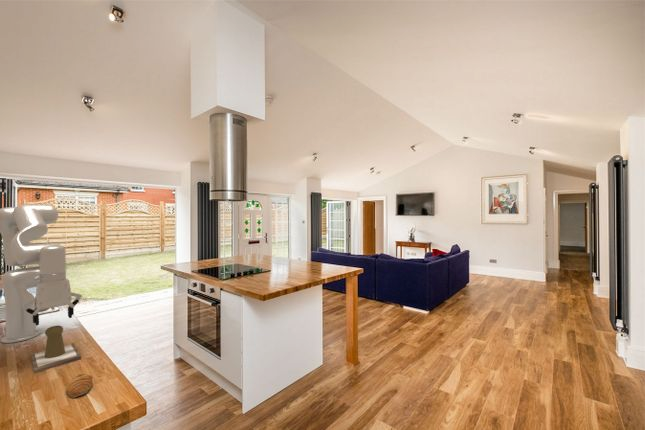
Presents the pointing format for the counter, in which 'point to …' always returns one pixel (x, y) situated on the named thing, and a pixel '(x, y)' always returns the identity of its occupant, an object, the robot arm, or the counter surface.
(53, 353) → the cork
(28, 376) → the counter surface
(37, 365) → the silver rectangular plate
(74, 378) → the pastry
